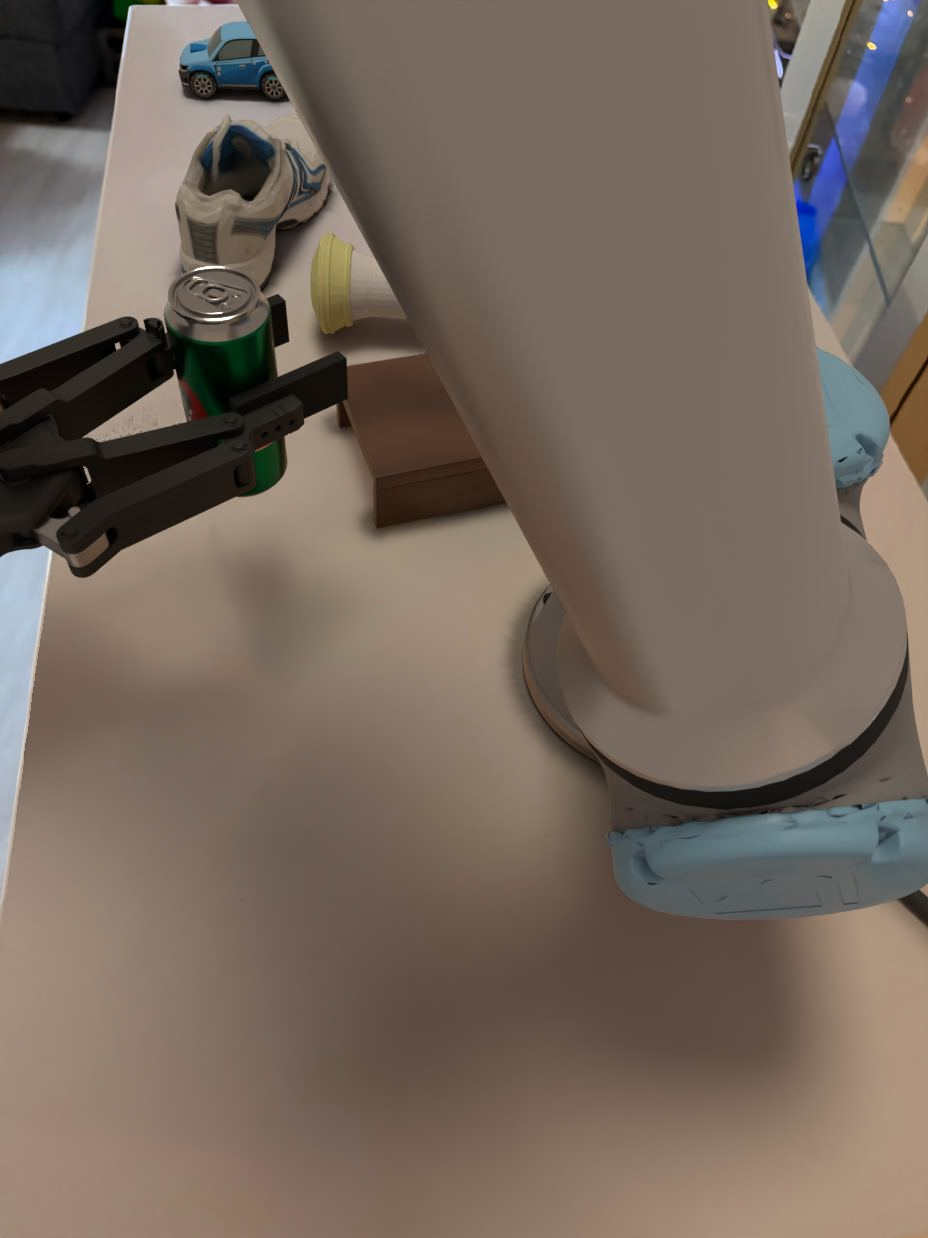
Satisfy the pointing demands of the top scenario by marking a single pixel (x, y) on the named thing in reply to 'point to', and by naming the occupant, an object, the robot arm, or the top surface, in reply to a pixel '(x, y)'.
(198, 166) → the athletic shoe
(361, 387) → the wooden display riser
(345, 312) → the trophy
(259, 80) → the toy car
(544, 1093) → the top surface
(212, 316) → the soda can
